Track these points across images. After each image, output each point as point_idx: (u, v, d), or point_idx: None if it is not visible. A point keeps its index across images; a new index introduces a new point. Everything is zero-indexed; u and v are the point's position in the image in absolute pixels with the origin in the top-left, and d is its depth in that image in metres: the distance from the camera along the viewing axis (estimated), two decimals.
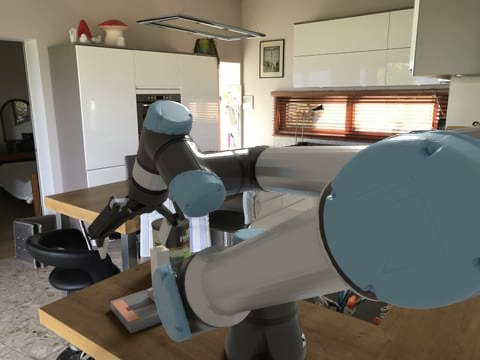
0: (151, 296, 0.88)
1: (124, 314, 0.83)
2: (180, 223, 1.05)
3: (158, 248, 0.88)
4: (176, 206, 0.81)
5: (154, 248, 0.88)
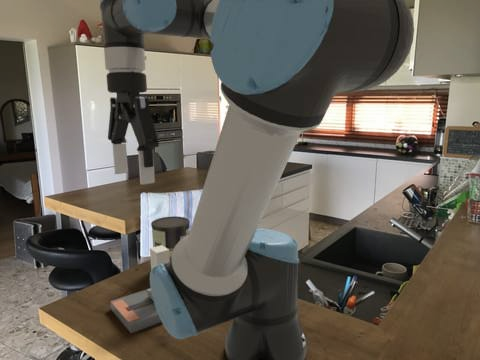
0: (151, 296, 0.88)
1: (124, 314, 0.83)
2: (180, 223, 1.05)
3: (158, 248, 0.88)
4: (137, 117, 0.72)
5: (154, 248, 0.88)
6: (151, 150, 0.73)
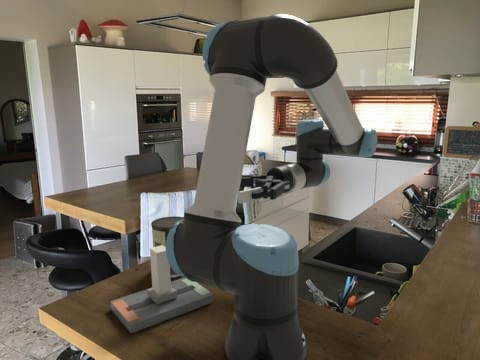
0: (151, 296, 0.88)
1: (124, 314, 0.83)
2: None
3: (158, 248, 0.88)
4: (279, 183, 0.97)
5: (154, 248, 0.88)
6: (265, 195, 0.93)
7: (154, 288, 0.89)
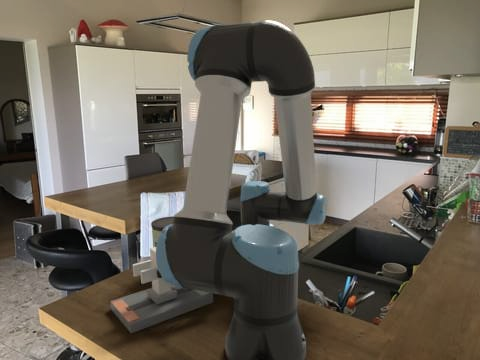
0: (151, 296, 0.88)
1: (124, 314, 0.83)
2: None
3: None
4: None
5: (154, 248, 0.88)
6: None
7: (154, 288, 0.89)
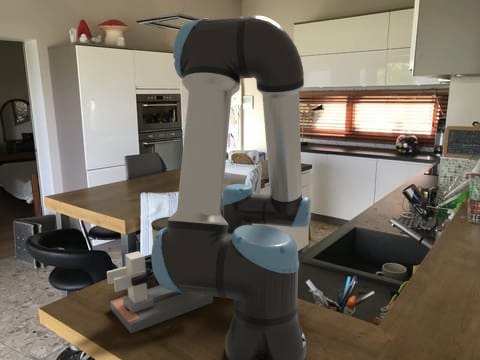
0: (126, 304, 0.85)
1: (124, 314, 0.83)
2: None
3: (133, 254, 0.84)
4: None
5: (129, 254, 0.84)
6: (148, 281, 0.83)
7: (130, 296, 0.85)
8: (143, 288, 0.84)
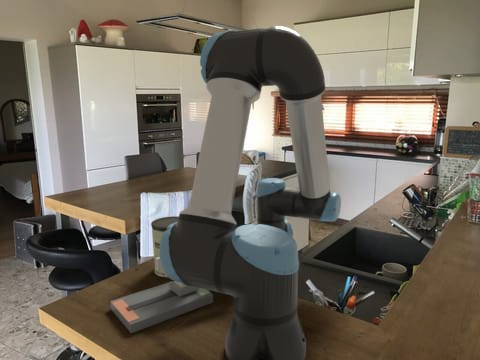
0: (173, 289, 0.92)
1: (124, 314, 0.83)
2: None
3: None
4: None
5: None
6: None
7: None
8: None
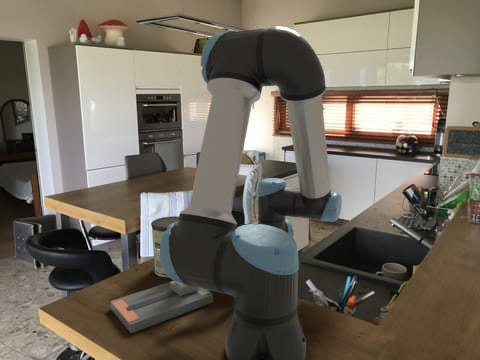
0: (174, 288, 0.92)
1: (124, 314, 0.83)
2: None
3: None
4: None
5: None
6: None
7: None
8: None
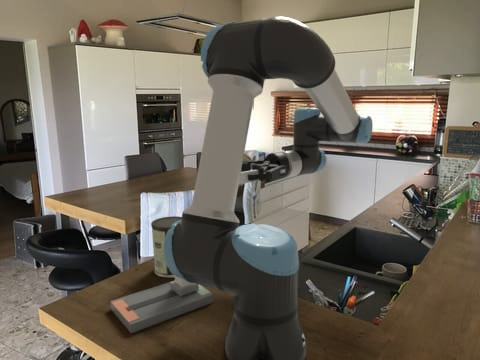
0: (174, 288, 0.92)
1: (124, 314, 0.83)
2: None
3: None
4: (275, 167, 1.00)
5: None
6: (261, 178, 0.95)
7: (177, 281, 0.92)
8: None
